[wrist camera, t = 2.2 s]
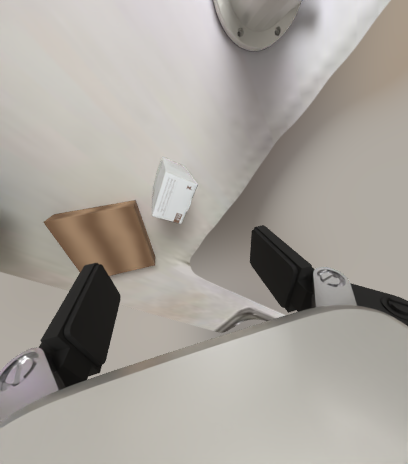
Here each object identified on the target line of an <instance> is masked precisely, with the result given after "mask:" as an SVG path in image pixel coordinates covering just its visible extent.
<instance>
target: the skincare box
mask: <svg viewBox="0 0 408 464" xmlns="http://www.w3.org/2000/svg"><path fill="white" fill-rule="evenodd" d="M197 186H198V183H197V182H196V181H195V180H194V178H193V177H192V176H191V174H190V173H189V172H188V170H187V169H186V168H185V166H183V165H181V164H179V163H177V162H174V161H172V160H170V159H167V158H165V157H162V160H161V162H160V165H159V168H158V171H157V174H156V178H155V182H154V186H153V198H152V216H153V217H157V218H160V219H164V220H168V221H171V222H175V223H178V224H182V222H183V219H184V217H185V215H186V212H187V210H188V209H189V207H190V205H191V201H192V198H193V196H194V193H195V191H196V188H197Z"/></svg>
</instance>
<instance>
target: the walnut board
mask: <svg viewBox="0 0 408 464" xmlns="http://www.w3.org/2000/svg"><path fill="white" fill-rule="evenodd" d="M44 224H45V225H46V226H47V228H48V229H49V230H50V232H51V233H52V235H53V236H54V237H55V239H56V240H57V241H58V243H59V244H60V246H61V247H62V248H63V250H64V251H65V252H66V254H67V255H68V257H69V258H70V259H71V261H72V262H73V263H74V265H75V266H76V268H77V269H78V270H79V272H81V270H82V269H83V267H84V266H85V265H88V264H92V263H98V264H102V265H103V267H104V268H105V270H106V272H107V273H108V275H109V276H111V275H115V274H119V273H123V272H128V271H132V270H136V269H140V268H145V267H149V266H153V265H155V255H154V252H153V249H152V246H151V243H150V240H149V238H148V235H147V232H146V229H145V226H144V223H143V220H142V217H141V215H140V212H139V209H138V206H137V203H136V200H134V201H128V202H123V203H117V204H111V205H106V206H100V207H94V208H88V209H83V210H77V211H71V212H65V213H60V214H54V215H52V216H51V217H50V218H48V219H47V220H46V221H44Z"/></svg>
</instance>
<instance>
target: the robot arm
mask: <svg viewBox="0 0 408 464" xmlns="http://www.w3.org/2000/svg"><path fill="white" fill-rule="evenodd" d="M213 1H214V5H215V9H216V12H217V15H218V18H219V20H220V23H221V25H222V27H223V28H224V30H225V32H226V34H227V35H228V36H229V37H230V38H231V40H232V41H233V42H234V43H235V44H237V45H238V46H239V47H241V48H243V49H246V50H249V51H259V50H263V49H265V48H267V47H269V46H271V45H272V44H273V43H275V42H276V41H277V40H278V39H279V38H280V37H281V36H282V35H283V34H284V33H285V32H286V31H287V29H288V28H289V27H290V25H291V24H292V22H293V20H294V18H295V16H296V14H297V12H298V9H299V7H300V4H301V2H302V1H303V0H213ZM238 34H239V36H238ZM250 263H251V265H252V267H253V268H254V269H255V271H256V272H257V274H258V275H259V277H260V278H261V279H262V281H263V282H264V283H265V285H266V286H267V288H268V289H269V290H270V292H271V293H272V294H273V296H274V297H275V299H276V300H277V301H278V303H279V304H280V306H281V307H283V308H285V309H286V310H287V312H291V311H295V310H297V311H298V312H296V313H293V314H290V315H286V316H283V317H279V318H276V319H273V320H270V321H267V322H264V323H261V324H257V325H254V326H251V327H248V328H245V329H241V330H238V331H235V332H232V333H229V334H226V335H223V336H219V337H216V338H213V339H210V340H207V341H204V342H200V343H197V344H194V345H191V346H188V347H185V348H182V349H179V350H176V351H173V352H170V353H166V354H163V355H160V356H157V357H154V358H151V359H148V360H145V361H142V362H139V363H136V364H133V365H130V366H127V367H124V368H121V369H117V370H114V371H111V372H109V373H106V374H103V375H100V376H97V377H94V378H91V379H88V380H87V378H88V376H91V375H94V374H97V373H100V370H101V366H102V364H104V363H105V361H106V357H107V353H108V349H109V345H110V340H111V337H112V332H113V328H114V324H115V320H116V316H117V312H118V307H119V303H120V294H119V292H118V290H117V289H116V287H115V285H114V284H113V282H112V280H111V278H110V277H109V275H108V273H107V272H106V270H105V268H104V267H103V265H102V264H98V263H92V264H88V265H85V266H84V267H83V269H82V270H81V272H80V274H79V276H78V277H77V279H76V281H75V282H74V284H73V286H72V288H71V289H70V291H69V293H68V294H67V296H66V298H65V300H64V301H63V303H62V305H61V307H60V308H59V310H58V312H57V313H56V315H55V317H54V318H53V320H52V322H51V324H50V325H49V327H48V329H47V330H46V332H45V334H44V336H43V337H42V339H41V342H42V343H41V345H40V346H39V348H37V347H36V348H31V349H28V350H26V351H24V352H22V353H21V354H19V355H17V356H16V357H15V358H13V359H12V360H11V361H10V362H9V363H7V364H6V365H5V367H3V369H2V370H1V371H0V464H408V301H406V300H404V299H402V298H400V297H397V296H394V295H390V294H387V293H383V292H380V291H376V290H373V289H369V288H365V287H362V286H358V285H354V284H351V283H350V281H349V280H348V278H347V277H346V276H345V275H344V274H342V273H341V272H339V271H337V270H335V269H332V268H328V267H319V268H316V269H314V268H312V265H311V264H310V263H308V262H307V261H306V260H304V259H303V258H302V257H301V256H300V255H299V254H298V253H296V252H295V251H294V250H293V249H292V248H290V247H289V246H288V245H287V244H286V243H284V242H283V241H282V240H281V239H280V238H278V237H277V236H276V235H275V234H274V233H272V232H271V231H270V230H269V229H268V228H267V227H265V226H263V225H262V226H258V227H255V228H254V230H252V237H251V252H250Z"/></svg>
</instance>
